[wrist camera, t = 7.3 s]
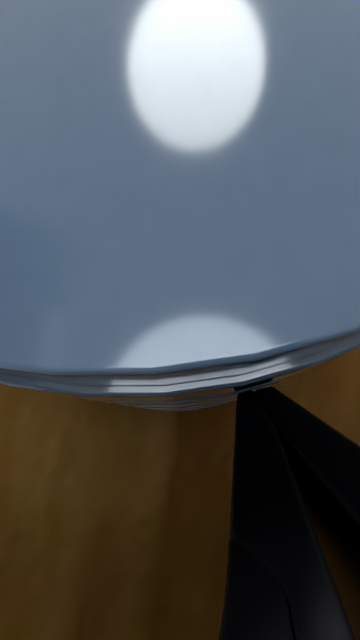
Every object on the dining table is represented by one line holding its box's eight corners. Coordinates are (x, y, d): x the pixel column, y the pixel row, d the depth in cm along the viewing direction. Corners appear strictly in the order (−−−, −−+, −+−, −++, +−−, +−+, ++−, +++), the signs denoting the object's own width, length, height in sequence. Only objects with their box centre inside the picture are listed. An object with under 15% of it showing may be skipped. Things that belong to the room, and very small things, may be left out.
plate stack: (350, 423, 14) (1002, 451, 3) (-14, 399, 15) (-642, 345, 4) (324, 128, 19) (518, -304, 8) (51, 125, 20) (-138, -257, 9)
